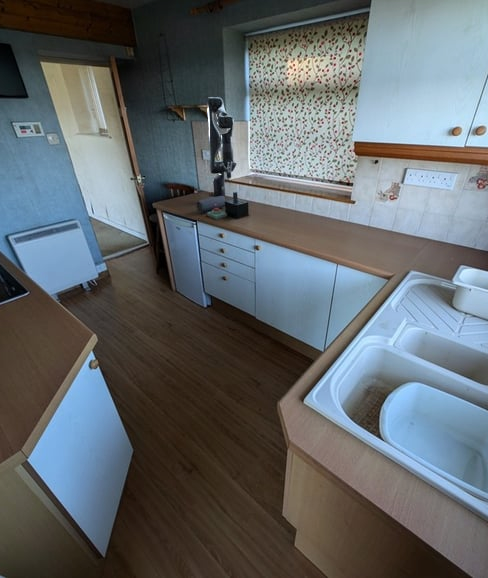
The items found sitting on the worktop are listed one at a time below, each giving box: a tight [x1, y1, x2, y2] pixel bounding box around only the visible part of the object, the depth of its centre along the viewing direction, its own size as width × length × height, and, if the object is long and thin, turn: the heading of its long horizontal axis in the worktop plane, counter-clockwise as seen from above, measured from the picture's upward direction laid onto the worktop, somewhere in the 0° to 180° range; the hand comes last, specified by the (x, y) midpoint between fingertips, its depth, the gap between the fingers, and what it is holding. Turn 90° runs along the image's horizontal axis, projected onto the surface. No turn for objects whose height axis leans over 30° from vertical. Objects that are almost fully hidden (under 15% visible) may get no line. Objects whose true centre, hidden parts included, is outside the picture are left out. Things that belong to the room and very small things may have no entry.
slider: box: [232, 191, 239, 200], centre depth 216 cm, size 2×2×5 cm
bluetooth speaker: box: [196, 196, 227, 213], centre depth 226 cm, size 23×9×10 cm, turn 132°
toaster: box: [224, 198, 250, 220], centre depth 216 cm, size 14×11×10 cm
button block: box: [206, 209, 228, 220], centre depth 216 cm, size 12×10×4 cm
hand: (229, 178), depth 203 cm, fingers closed
